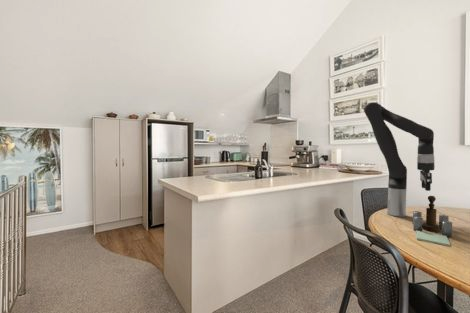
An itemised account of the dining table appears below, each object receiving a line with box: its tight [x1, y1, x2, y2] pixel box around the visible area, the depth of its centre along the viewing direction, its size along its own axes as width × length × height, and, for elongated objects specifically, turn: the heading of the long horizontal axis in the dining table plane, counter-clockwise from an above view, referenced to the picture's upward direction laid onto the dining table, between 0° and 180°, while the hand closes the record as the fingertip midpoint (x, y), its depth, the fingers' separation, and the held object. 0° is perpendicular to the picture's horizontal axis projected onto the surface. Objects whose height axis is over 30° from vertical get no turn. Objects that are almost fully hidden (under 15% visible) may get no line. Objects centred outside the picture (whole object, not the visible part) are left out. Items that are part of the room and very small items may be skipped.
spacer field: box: [412, 210, 453, 239], centre depth 111 cm, size 14×16×7 cm
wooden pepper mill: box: [423, 195, 441, 233], centre depth 111 cm, size 7×6×18 cm
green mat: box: [415, 230, 451, 247], centre depth 100 cm, size 11×12×1 cm
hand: (425, 189), depth 125 cm, fingers open, 8 cm apart
